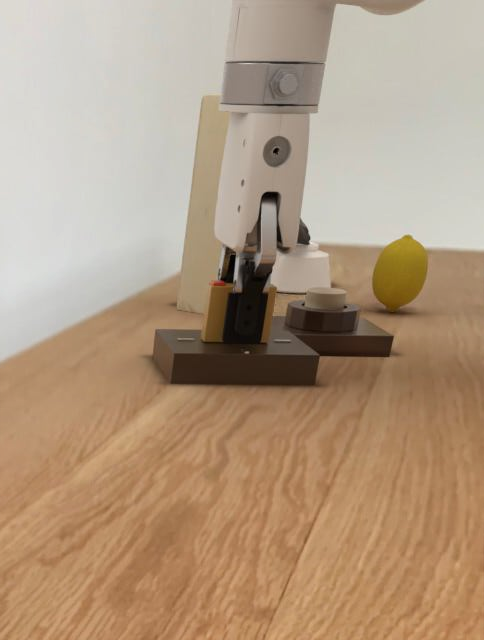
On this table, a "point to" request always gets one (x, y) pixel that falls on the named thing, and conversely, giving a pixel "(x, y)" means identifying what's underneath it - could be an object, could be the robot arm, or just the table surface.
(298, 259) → the inkwell
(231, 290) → the lock knob
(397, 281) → the lemon
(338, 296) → the bell button
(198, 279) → the toy refrigerator
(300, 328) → the block
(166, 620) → the table surface
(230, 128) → the robot arm
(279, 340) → the plate
